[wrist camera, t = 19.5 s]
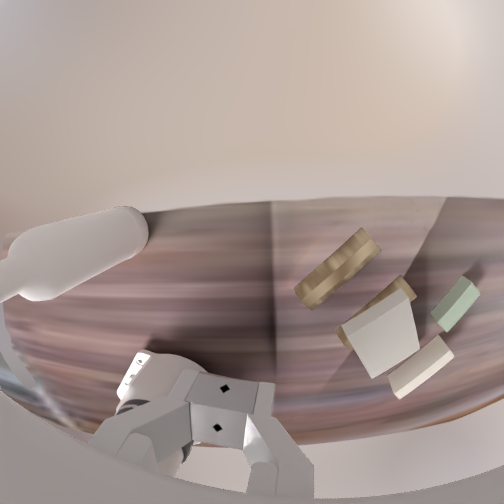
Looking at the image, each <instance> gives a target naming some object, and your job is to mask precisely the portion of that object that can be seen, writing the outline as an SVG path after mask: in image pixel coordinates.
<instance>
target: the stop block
mask: <svg viewBox="0 0 504 504" xmlns="http://www.w3.org/2000/svg"><path fill="white" fill-rule="evenodd" d="M452 358H454V355H453V354H452V352H451V351H450V349H449V348H448V347H447V345H446V344H445V343H444V341H443V340H442V339H441V337H440V336H439V335H437V336H436V337H435V338H434V339H432V340H431V341H430V342H429V343H428V344H427V345H425V346H424V347H423V348H422V349H421V350H419V351H418V352H417V353H416V354H414V355H413V356H412V357H411V358H409V359H408V360H407V361H406V362H404V363H403V364H402V365H400V366H399V367H398V368H396V369H395V370H394V371H392V372H391V373H390V374H388V375H387V376H388V379H389V381H390V384H391V387H392V390H393V392H394V394H395V395H396V396H397V397H398V398H399V399H401V398H402V397H404V396H405V395H407V394H408V393H409V392H411V391H412V390H414V389H415V388H416V387H418V386H419V385H420V384H422V383H423V382H424V381H425V380H427V379H428V378H429V377H431V376H432V375H433V374H434V373H436V372H437V371H438V370H439V369H441V368H442V367H443V366H444V365H445V364H447V363H448V362H449V361H450V360H451V359H452Z"/></svg>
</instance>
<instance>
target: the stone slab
mask: <svg viewBox="0 0 504 504" xmlns="http://www.w3.org/2000/svg"><path fill="white" fill-rule="evenodd" d="M341 327H342V329H343V330H344V332H345V334H346V336H347V338H348V340H349V341H350V343H351V345H352V346H353V348H354V350H355V351H356V353H357V355H358V356H359V358H360V360H361V361H362V363H363V365H364V366H365V368H366V370H367V372H368V373H369V375H370V377H371V378H372V379H373V378H374V377H376V376H378V375H380V374H381V373H383V372H385V371H386V370H388V369H390V368H391V367H393V366H395V365H396V364H398V363H399V362H401V361H403V360H404V359H406V358H407V357H409V356H410V355H412V354H413V353H415V352H416V351H418V350H419V349H420V346H419V341H418V336H417V331H416V327H415V322H414V318H413V313H412V309H411V305H410V301H409V297H408V296H407V295H406V294H405V292H404V291H403V290H402V289H401V288H400V289H398V290H397V291H395V292H394V293H392V294H391V295H389V296H388V297H386V298H385V299H383V300H381V301H380V302H378V303H377V304H375V305H374V306H372V307H370V308H369V309H367V310H366V311H364V312H362V313H361V314H359V315H358V316H356V317H354V318H353V319H351V320H349V321H348V322H346V323H344V324H342V325H341Z"/></svg>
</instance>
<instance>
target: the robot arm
mask: <svg viewBox="0 0 504 504" xmlns="http://www.w3.org/2000/svg"><path fill="white" fill-rule="evenodd" d="M141 360H142V361H141ZM274 392H275V383H267V382H256V381H249V380H242V379H236V378H230V377H225V376H220V375H216V374H211V373H208V372H207V371H206V370H204V369H203V368H202V367H201V366H199V365H198V364H196V363H195V362H193V361H191V360H189V359H187V358H184V357H182V356H178V355H173V354H156V353H153V352H151V351H148V350H144V349H141V350H139V351H138V353H137V354H136V356H135V358H134V360H133V362H132V364H131V365H130V367H129V369H128V371H127V373H126V375H125V377H124V379H123V380H122V382H121V384H120V386H119V388H118V390H117V394H118V396H119V398H120V400H121V401H120V403H119V405H118V407H117V408H116V411H117V412H116V414H115V416H113V417H111V418H108V419H105V420H104V422H103V423H102V424H101V426H100V427H99V428H98V429H97V431H96V432H95V433H94V435H93V436H92V437H91V439H90V440H89V441H88V443H87V444H86V443H84V442H82V441H79V440H78V439H76V438H74V437H72V436H70V435H68V434H66V433H64V432H63V431H61V430H59V429H57V428H55V427H54V426H52V425H50V424H49V423H47V422H45V421H44V420H42V419H40V418H39V417H37V416H36V415H34V414H32V413H31V412H29V411H28V410H26V409H25V408H23V407H22V406H20V405H19V404H17V403H16V402H15V401H13V400H12V399H10V398H9V397H8V396H6V395H5V394H4V393H2V392H1V391H0V504H504V465H503V466H501V467H498V468H495V469H493V470H490V471H487V472H484V473H481V474H479V475H476V476H472V477H469V478H466V479H462V480H459V481H455V482H452V483H448V484H444V485H440V486H435V487H431V488H427V489H421V490H416V491H410V492H404V493H398V494H390V495H382V496H372V497H360V498H341V499H340V498H339V499H314V465H313V464H312V463H311V462H310V460H309V459H308V458H307V457H306V455H305V454H304V453H303V452H302V451H301V449H300V448H299V447H298V445H297V444H296V443H295V442H294V440H293V439H292V438H291V437H290V435H289V434H288V433H287V431H286V430H285V429H284V428H283V426H282V425H281V424H280V422H279V421H278V420H277V418H275V417H271V416H272V408H273V400H274ZM201 442H206V443H211V444H216V445H221V446H226V447H230V448H235V449H241V450H243V453H244V455H245V457H246V459H247V461H248V463H249V465H250V466H251V473H250V477H249V482H248V487H247V491H246V493H243V492H236V491H231V490H224V489H219V488H215V487H210V486H206V485H201V484H197V483H192V482H189V481H185V480H181V479H178V478H175V477H176V474H177V472H178V470H179V467H180V465H181V464H182V463H183V462H184V461H185V460H186V458H187V457H188V456H189V454H190V452H191V449H192V446H193V445H195V444H197V443H198V444H199V443H201Z"/></svg>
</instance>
